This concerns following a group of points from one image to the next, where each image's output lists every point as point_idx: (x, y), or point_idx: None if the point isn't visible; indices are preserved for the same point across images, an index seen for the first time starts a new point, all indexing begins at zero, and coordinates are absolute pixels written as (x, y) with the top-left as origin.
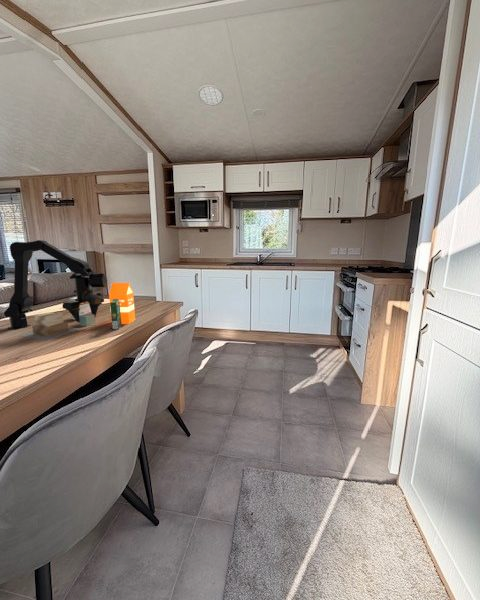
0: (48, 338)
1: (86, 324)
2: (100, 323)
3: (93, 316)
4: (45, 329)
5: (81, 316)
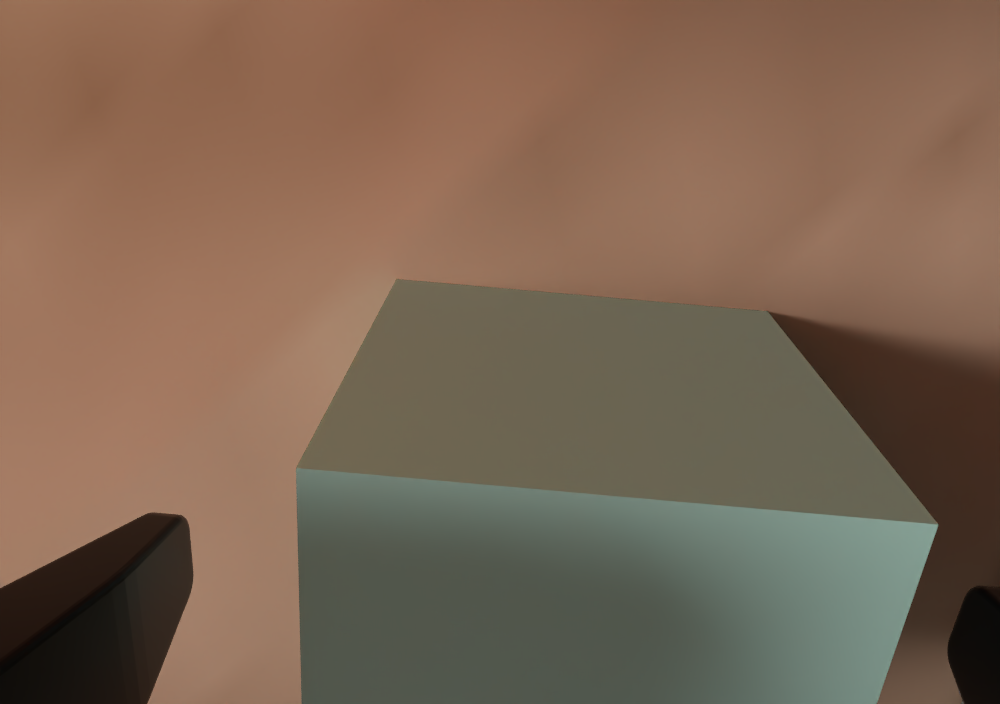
0: None
1: (791, 355)
2: (268, 162)
3: (404, 422)
4: None
5: None
